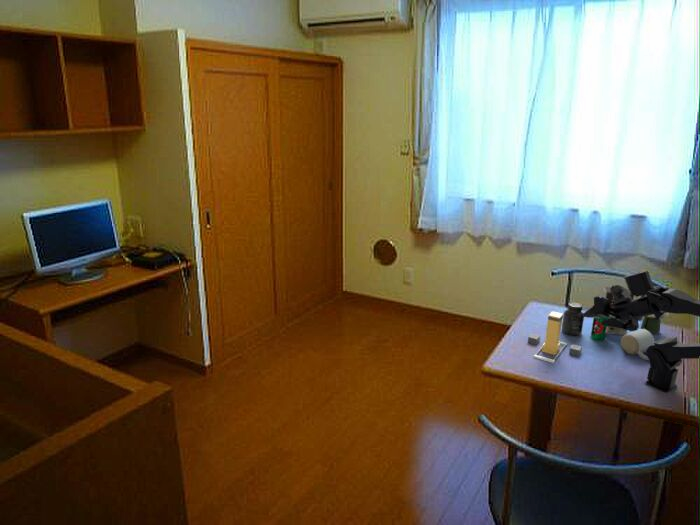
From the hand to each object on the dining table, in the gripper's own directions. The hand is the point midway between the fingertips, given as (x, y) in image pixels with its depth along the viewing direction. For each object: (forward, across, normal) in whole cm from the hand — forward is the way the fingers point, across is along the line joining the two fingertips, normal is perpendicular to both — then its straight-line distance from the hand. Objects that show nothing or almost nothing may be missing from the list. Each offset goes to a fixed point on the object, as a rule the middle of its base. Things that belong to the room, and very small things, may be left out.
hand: (592, 319), depth 175 cm
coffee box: (+11, -27, -6) cm, 30 cm away
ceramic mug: (-1, -22, +6) cm, 23 cm away
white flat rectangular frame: (+14, +4, +10) cm, 18 cm away
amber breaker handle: (+13, +4, +10) cm, 17 cm away
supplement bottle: (+17, -11, -1) cm, 21 cm away
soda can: (+10, -17, +1) cm, 20 cm away
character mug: (+4, -39, -8) cm, 40 cm away
